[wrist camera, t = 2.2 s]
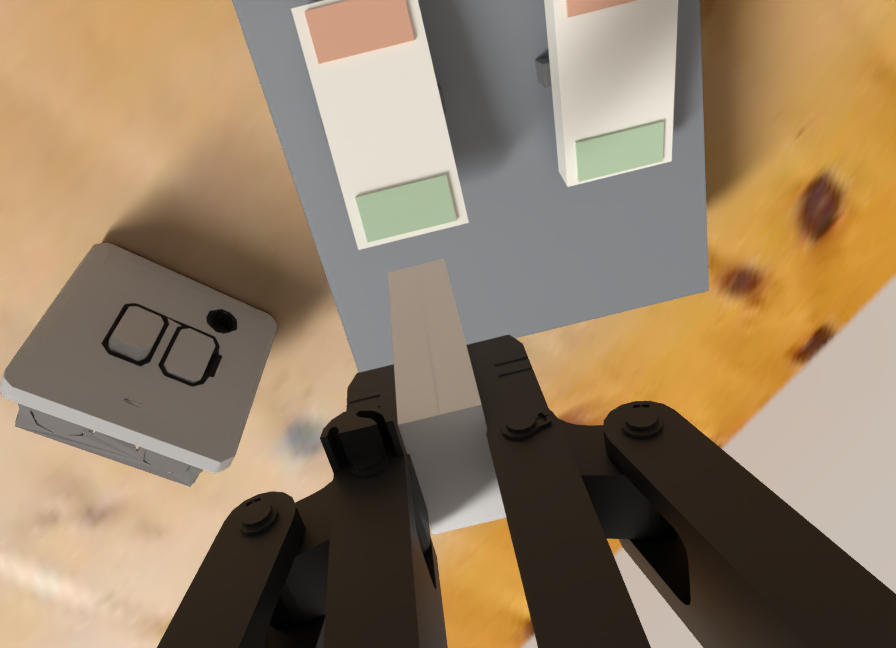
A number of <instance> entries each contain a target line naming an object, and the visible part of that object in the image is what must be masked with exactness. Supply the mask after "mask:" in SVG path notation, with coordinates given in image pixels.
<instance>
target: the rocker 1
mask: <svg viewBox="0 0 896 648" xmlns="http://www.w3.org/2000/svg"><path fill="white" fill-rule="evenodd" d="M291 11H292V14H293V18H294V22H295V25H296V29H297V32H298V36H299V39H300V43H301V47H302V50H303V54H304V57H305V61H306V65H307V68H308V72H309V75H310V79H311V82H312V86H313V90H314V93H315V97H316V100H317V104H318V108H319V111H320V115H321V118H322V122H323V125H324V129H325V133H326V136H327V140H328V143H329V147H330V151H331V154H332V158H333V161H334V165H335V168H336V172H337V176H338V179H339V183H340V186H341V190H342V194H343V197H344V201H345V204H346V208H347V211H348V215H349V219H350V222H351V226H352V229H353V233H354V237H355V240H356V244H357V247H358V250H361V249H365V248H369V247H373V246H377V245H381V244H385V243H389V242H393V241H397V240H401V239H405V238H409V237H413V236H418V235H422V234H426V233H430V232H434V231H438V230H442V229H446V228H450V227H454V226H458V225H462V224H466V223H469V221H468V217H467V212H466V208H465V204H464V199H463V195H462V191H461V186H460V182H459V177H458V173H457V169H456V164H455V160H454V156H453V151H452V147H451V143H450V138H449V134H448V129H447V125H446V121H445V116H444V112H443V108H442V103H441V99H440V95H439V90H438V86H437V81H436V77H435V73H434V68H433V64H432V60H431V55H430V51H429V46H428V42H427V38H426V33H425V29H424V25H423V20H422V16H421V12H420V7H419V3H418V0H323V1H319V2H315V3H311V4H307V5H303V6H299V7H295V8H291Z"/></svg>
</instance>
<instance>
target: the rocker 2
mask: <svg viewBox="0 0 896 648" xmlns="http://www.w3.org/2000/svg"><path fill="white" fill-rule="evenodd" d="M544 4H545V16H546V27H547V39H548V51H549V62H550V74H551V86H552V97H553V109H554V121H555V132H556V144H557V156H558V167H559V172H560V174H561V176H562V178H563V180H564V182H565V183H566V185H567V187H570V186H574V185H578V184H582V183H586V182H590V181H594V180H598V179H602V178H606V177H610V176H614V175H618V174H622V173H626V172H630V171H635V170H639V169H643V168H647V167H651V166H655V165H659V164H663V163H667V162H671V161H672V139H673V114H674V90H675V66H676V42H677V18H678V0H544Z"/></svg>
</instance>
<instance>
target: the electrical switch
mask: <svg viewBox="0 0 896 648" xmlns="http://www.w3.org/2000/svg"><path fill="white" fill-rule="evenodd" d="M277 328H278V326H277V324H276V322H275V319H274V318H273V317H272V316H270V315H269V314H268V313H265V312H263V311H261V310H259V309H256V308H254V307H252V306H250V305H248V304H245V303H243V302H241V301H239V300H236V299H234V298H232V297H230V296H227V295H225V294H223V293H221V292H218V291H216V290H214V289H212V288H210V287H207V286H205V285H203V284H201V283H198V282H196V281H194V280H192V279H189V278H187V277H185V276H183V275H181V274H178V273H176V272H174V271H172V270H169V269H167V268H165V267H163V266H160V265H158V264H156V263H154V262H152V261H149V260H147V259H145V258H143V257H140V256H138V255H136V254H134V253H131V252H129V251H127V250H125V249H122V248H120V247H118V246H116V245H114V244H110V243H101V244H95V245H94V246H93V247H92V248H91V250H90V251H89V252H88V253H87V255H86V256H85V257H84V259H83V260H82V262H81V263H80V264H79V266H78V267H77V269H76V270H75V271H74V273H73V274H72V276H71V277H70V278H69V280H68V281H67V283H66V284H65V286H64V287H63V288H62V290H61V291H60V293H59V294H58V295H57V297H56V298H55V300H54V301H53V303H52V304H51V305H50V307H49V308H48V310H47V311H46V313H45V314H44V315H43V317H42V318H41V320H40V321H39V322H38V324H37V325H36V327H35V328H34V330H33V331H32V332H31V334H30V335H29V337H28V338H27V340H26V341H25V342H24V344H23V345H22V347H21V348H20V349H19V351H18V352H17V354H16V355H15V357H14V358H13V359H12V361H11V362H10V364H9V365H8V366H7V368H6V369H5V371H4V374H3V377H2V379H1V382H0V389H1V397H4V398H6V399H9V400H11V401H13V402H16V403H18V405H19V412H18V415H17V418H16V424H15V426H16V427H19V428H21V429H24V430H27V431H30V432H33V433H36V434H39V435H42V436H45V437H48V438H50V439H53V440H56V441H59V442H62V443H65V444H68V445H71V446H74V447H77V448H79V449H82V450H85V451H88V452H91V453H94V454H97V455H100V456H103V457H106V458H108V459H111V460H114V461H117V462H120V463H123V464H126V465H129V466H132V467H135V468H137V469H140V470H143V471H146V472H149V473H152V474H155V475H158V476H161V477H164V478H166V479H169V480H172V481H175V482H178V483H181V484H184V485H187V486H191V485H192V484H194V483H193V482H195V480H196V479H197V477H198V475H199V473H200V472H202V471H203V470H206V471H209V472H211V473H214V474H215V473H218V472H220V471H222V470H225V469H226V468H228V467H229V466H230V464H231V462H232V460H233V459H234V457H235V455H236V452H237V449H238V446H239V443H240V440H241V436H242V433H243V430H244V427H245V424H246V421H247V418H248V415H249V412H250V409H251V406H252V403H253V400H254V397H255V394H256V391H257V388H258V385H259V382H260V379H261V376H262V373H263V370H264V367H265V364H266V361H267V358H268V355H269V352H270V349H271V346H272V343H273V340H274V337H275V334H276V331H277ZM34 416H35V418H34ZM35 419H36V420H35ZM93 430H95V431H96V432H95V433H93ZM83 432H84V433H83ZM56 434H57V435H56ZM135 445H137V446H139V448H138V449H136V447H135ZM168 472H172V473H168Z"/></svg>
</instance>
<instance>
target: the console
mask: <svg viewBox="0 0 896 648" xmlns="http://www.w3.org/2000/svg"><path fill="white" fill-rule="evenodd" d="M319 1H323V0H232V2H233V4H234V7H235V10H236V13H237V16H238V19H239V22H240V25H241V28H242V31H243V34H244V37H245V40H246V43H247V46H248V49H249V51H250V54H251V57H252V60H253V63H254V66H255V69H256V72H257V75H258V78H259V81H260V84H261V87H262V90H263V93H264V95H265V98H266V101H267V104H268V107H269V110H270V113H271V116H272V119H273V122H274V125H275V128H276V131H277V134H278V137H279V140H280V142H281V145H282V148H283V151H284V154H285V157H286V160H287V163H288V166H289V169H290V172H291V175H292V178H293V181H294V184H295V186H296V189H297V192H298V195H299V198H300V201H301V204H302V207H303V210H304V213H305V216H306V219H307V222H308V225H309V228H310V231H311V233H312V236H313V239H314V242H315V245H316V248H317V251H318V254H319V257H320V260H321V263H322V266H323V269H324V272H325V275H326V277H327V280H328V283H329V286H330V289H331V292H332V295H333V298H334V301H335V304H336V307H337V310H338V313H339V316H340V319H341V322H342V324H343V327H344V330H345V333H346V336H347V339H348V342H349V345H350V348H351V351H352V354H353V357H354V360H355V363H356V366H357V368H358V371H359V372H364V371H368V370H372V369H376V368H380V367H384V366H388V365H392V364H394V358H393V343H392V328H391V313H390V297H389V282H388V272H391V271H396V270H400V269H404V268H408V267H412V266H416V265H420V264H424V263H428V262H432V261H436V260H440V259H445V263H446V267H447V271H448V275H449V279H450V283H451V287H452V291H453V295H454V299H455V303H456V306H457V310H458V314H459V318H460V322H461V326H462V330H463V334H464V338H465V342H466V345H468V344H472V343H476V342H480V341H484V340H488V339H492V338H496V337H501V336H505V335H511V336H512V337H513V338H518V337H522V336H526V335H530V334H534V333H538V332H542V331H547V330H551V329H555V328H559V327H563V326H567V325H571V324H575V323H579V322H583V321H587V320H591V319H596V318H600V317H604V316H608V315H612V314H616V313H620V312H624V311H628V310H632V309H636V308H640V307H645V306H649V305H653V304H657V303H661V302H665V301H669V300H673V299H677V298H681V297H685V296H689V295H694V294H698V293H702V292H706V291H709V279H708V246H707V213H706V181H705V148H704V115H703V82H702V50H701V17H700V0H678V18H677V42H676V66H675V90H674V114H673V139H672V161H671V162H667V163H663V164H659V165H655V166H651V167H647V168H643V169H639V170H635V171H630V172H626V173H622V174H618V175H614V176H610V177H606V178H602V179H598V180H594V181H590V182H586V183H582V184H578V185H574V186H570V187H567V185H566V183H565V182H564V180H563V178H562V176H561V174H560V172H559V167H558V156H557V144H556V132H555V121H554V109H553V97H552V86H551V74H550V62H549V51H548V39H547V27H546V16H545V4H544V0H418V3H419V7H420V12H421V16H422V20H423V25H424V29H425V33H426V38H427V42H428V46H429V51H430V55H431V60H432V64H433V68H434V73H435V77H436V81H437V86H438V90H439V95H440V99H441V103H442V108H443V112H444V116H445V121H446V125H447V129H448V134H449V138H450V143H451V147H452V151H453V156H454V160H455V164H456V169H457V173H458V177H459V182H460V186H461V191H462V195H463V199H464V204H465V208H466V212H467V217H468V221H469V223H466V224H462V225H458V226H454V227H450V228H446V229H442V230H438V231H434V232H430V233H426V234H422V235H418V236H413V237H409V238H405V239H401V240H397V241H393V242H389V243H385V244H381V245H377V246H373V247H369V248H365V249H361V250H358V247H357V244H356V240H355V237H354V233H353V229H352V226H351V222H350V219H349V215H348V211H347V208H346V204H345V201H344V197H343V194H342V190H341V186H340V183H339V179H338V176H337V172H336V168H335V165H334V161H333V158H332V154H331V151H330V147H329V143H328V140H327V136H326V133H325V129H324V125H323V122H322V118H321V115H320V111H319V108H318V104H317V100H316V97H315V93H314V90H313V86H312V82H311V79H310V75H309V72H308V68H307V65H306V61H305V57H304V54H303V50H302V47H301V43H300V39H299V36H298V32H297V29H296V25H295V22H294V18H293V14H292V11H291V8H295V7H299V6H303V5H307V4H311V3H315V2H319Z"/></svg>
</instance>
